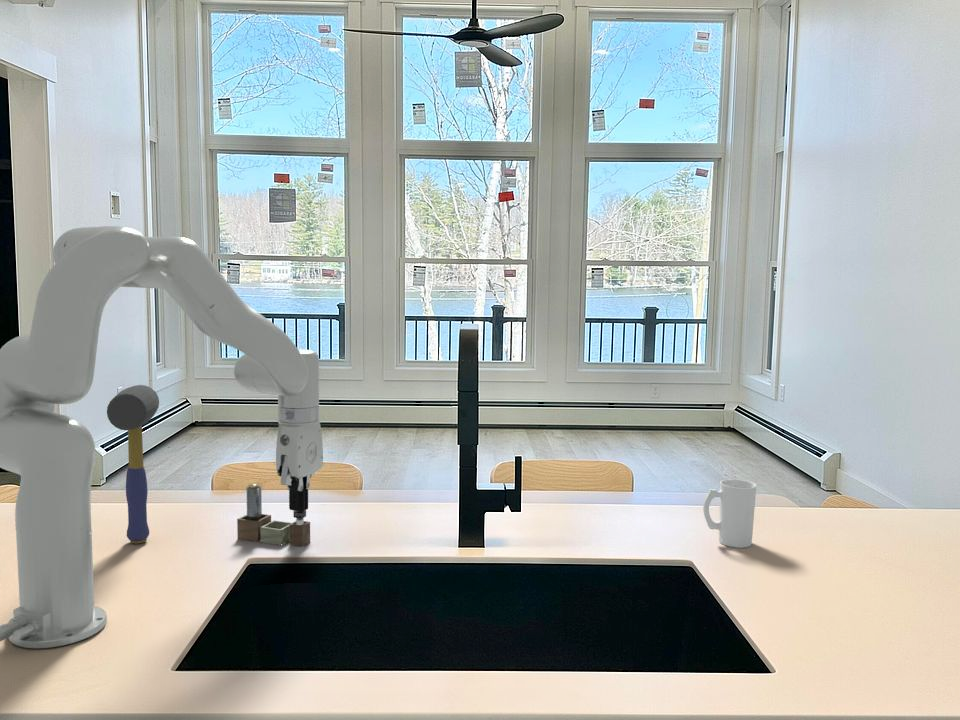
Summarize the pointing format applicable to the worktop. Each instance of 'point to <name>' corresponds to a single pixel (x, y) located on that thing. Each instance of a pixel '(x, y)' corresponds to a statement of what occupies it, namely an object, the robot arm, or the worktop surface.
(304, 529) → the compartment holder
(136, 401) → the rubber mallet
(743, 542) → the mug
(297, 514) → the round dark gray knob
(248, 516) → the gray yellow-capped cylinder
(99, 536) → the worktop surface
